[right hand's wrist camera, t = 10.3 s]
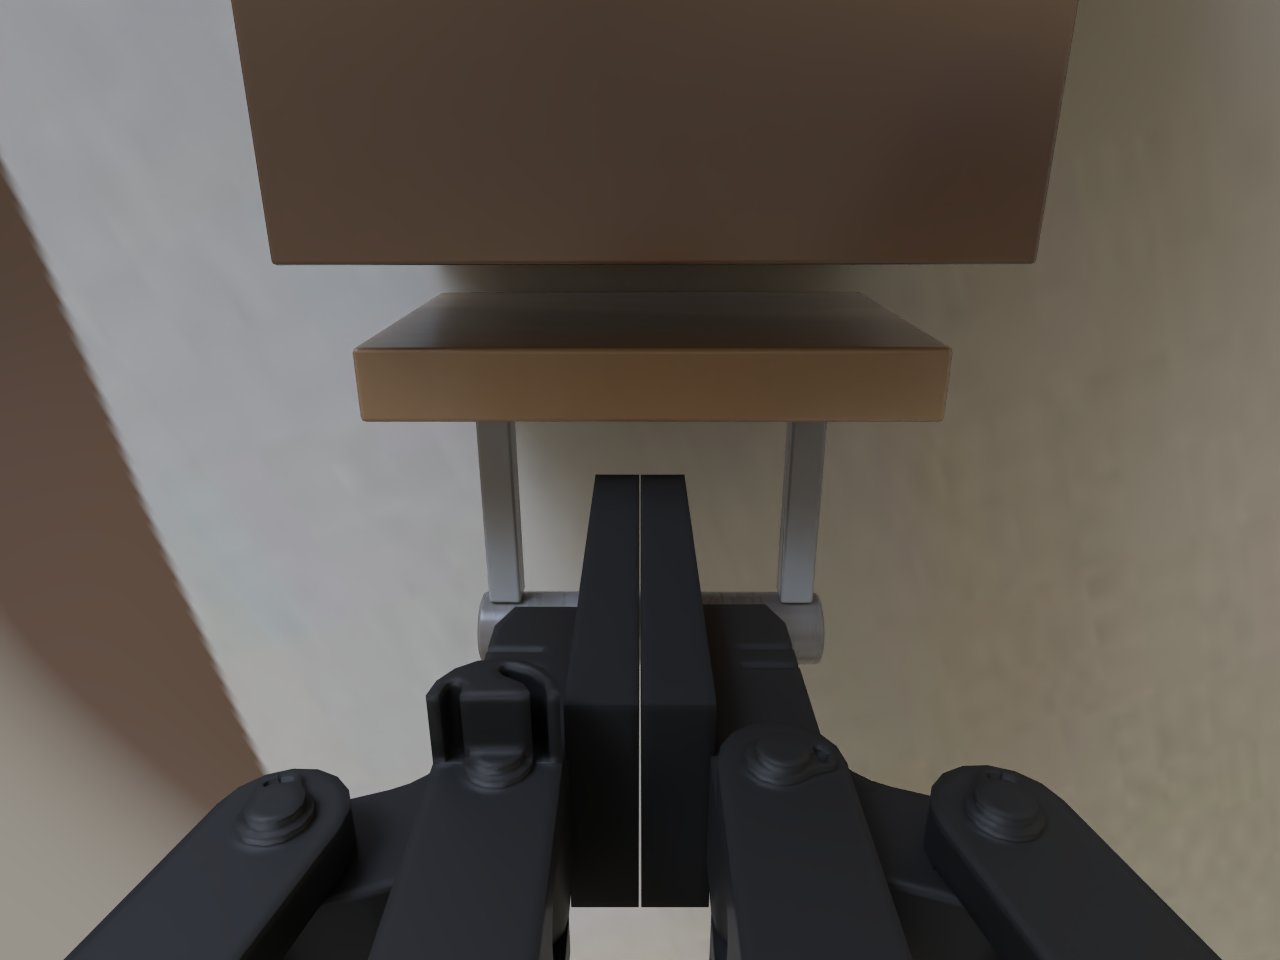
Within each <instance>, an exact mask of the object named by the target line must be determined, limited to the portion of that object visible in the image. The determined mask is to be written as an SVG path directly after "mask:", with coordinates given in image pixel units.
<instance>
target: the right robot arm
mask: <svg viewBox="0 0 1280 960" xmlns="http://www.w3.org/2000/svg"><path fill="white" fill-rule="evenodd" d="M426 702H427V711H428V720H429V729H430V738H431V747H432V756H433V766H432V769H431V772H430V773H429V774H428V775H426V776H424V777H422V778H420V779H418V780H416V781H414V782H412V783H410V784H407V785H404V786H401V787H398V788H395V789H391V790H388V791H383V792H379V793H375V794H371V795H366V796H362V797H358V798H353V799H350V795H349V790H348V789H347V787H346V786H345V785H344V784H343V783H342V782H341V780H340V779H339V778H338V777H337V776H334V775H331V774H329V773H326V772H323V771H321V770H318V769H290V770H286V771H281V772H277V773H272V774H268V775H264V776H262V777H260V778H258V779H256V780H254V781H251V782H249V783H247V784H245V785H243V786H241V787H239V788H237V789H236V790H235V791H233V792H232V793H231V794H230V795H228V796H227V797H226V798H224V799H223V800H222V801H221V802H219V803H218V804H217V805H216V806H215V807H214V808H213V809H212V810H211V811H210V812H209V813H208V814H207V815H206V816H205V817H204V818H203V819H202V820H201V821H200V822H199V823H198V824H197V825H196V826H195V827H194V828H193V829H192V830H191V831H190V832H189V833H188V834H187V835H186V836H185V837H184V838H183V839H182V840H181V841H180V842H179V843H178V844H177V845H176V846H175V847H174V848H173V849H172V850H171V851H170V852H169V853H168V854H167V855H166V857H165V858H164V859H163V860H162V861H161V862H160V863H159V864H158V865H157V866H156V867H155V868H154V869H153V870H152V871H151V872H150V873H149V874H148V875H147V876H146V877H145V878H144V879H143V880H142V881H141V882H140V883H139V884H138V885H137V886H136V887H135V888H134V889H133V890H132V891H131V892H130V893H129V894H128V895H127V896H126V897H125V898H124V899H123V900H122V901H121V902H120V903H119V904H118V905H117V906H116V907H115V908H114V909H113V910H112V911H111V912H110V913H109V914H108V915H107V916H106V917H105V918H104V919H103V920H102V921H101V922H100V923H99V924H98V925H97V927H96V928H95V929H94V930H93V931H92V932H91V933H90V934H89V935H88V936H87V937H86V938H85V939H84V940H83V941H82V942H81V943H80V944H79V945H78V946H77V947H76V948H75V949H74V950H73V951H72V952H71V953H70V954H69V955H68V956H67V957H66V958H65V959H64V960H569V959H570V936H569V908H570V897H571V907H639V475H596V476H595V483H594V490H593V497H592V505H591V512H590V519H589V526H588V533H587V540H586V547H585V554H584V562H583V569H582V576H581V583H580V590H579V597H578V604H577V607H514V608H513V609H512V610H511V611H510V612H509V613H508V614H507V615H506V616H505V617H504V618H502V619H501V620H500V621H499V622H498V623H497V624H496V625H495V626H494V629H493V633H492V636H491V639H490V642H489V646H488V652H486V655H485V658H484V660H481V661H476V662H473V663H470V664H467V665H464V666H461V667H458V668H455V669H454V670H452V671H451V672H449V673H448V674H446V675H445V676H443V677H442V678H440V679H439V680H437V681H436V682H435V684H434V685H433V686H432V688H431V689H430V691H429V692H428V693H427V695H426ZM709 893H710V903H711V936H710V960H1222V959H1221V958H1220V957H1219V956H1218V955H1217V954H1216V953H1215V952H1214V951H1213V950H1212V949H1211V948H1210V947H1209V946H1208V945H1207V944H1206V943H1205V942H1204V941H1203V940H1202V939H1201V938H1200V937H1199V936H1198V935H1197V934H1196V933H1195V932H1194V931H1193V930H1192V929H1191V928H1190V927H1189V926H1188V925H1187V924H1186V923H1185V922H1184V921H1183V920H1182V919H1181V918H1180V917H1179V916H1178V915H1177V914H1176V913H1175V912H1174V911H1173V910H1172V909H1171V908H1170V907H1169V906H1168V905H1167V904H1166V903H1165V902H1164V901H1163V900H1162V899H1161V898H1160V897H1159V896H1158V895H1157V894H1156V893H1155V892H1154V891H1153V890H1152V889H1151V888H1150V887H1149V886H1148V885H1147V884H1146V883H1145V882H1144V881H1143V880H1142V879H1141V878H1140V877H1139V876H1138V875H1137V874H1136V873H1135V872H1134V871H1133V870H1132V869H1131V868H1130V867H1129V866H1128V865H1127V864H1126V863H1125V862H1124V861H1123V860H1122V859H1121V858H1120V857H1119V856H1118V855H1117V854H1116V853H1115V852H1114V851H1113V850H1112V849H1111V848H1110V847H1109V846H1108V845H1107V844H1106V843H1105V842H1104V841H1103V840H1102V839H1101V838H1100V837H1099V836H1098V835H1097V833H1096V832H1095V831H1094V830H1093V829H1092V828H1091V827H1090V826H1089V825H1088V824H1087V823H1086V822H1085V821H1084V820H1083V819H1082V818H1081V817H1080V816H1079V815H1078V814H1077V813H1076V812H1075V811H1074V810H1073V809H1072V808H1071V807H1070V806H1069V805H1068V804H1067V803H1066V802H1065V801H1064V800H1062V799H1061V798H1060V797H1058V796H1057V795H1056V794H1055V793H1053V792H1052V791H1051V790H1049V789H1048V788H1047V787H1045V786H1044V785H1043V784H1042V783H1039V782H1037V781H1035V780H1033V779H1031V778H1028V777H1026V776H1024V775H1022V774H1020V773H1017V772H1015V771H1011V770H1006V769H1002V768H997V767H993V766H988V765H982V766H961V767H959V768H956V769H953V770H951V771H948V772H945V773H943V774H942V775H941V776H940V778H939V779H938V780H937V781H936V782H935V783H934V785H933V786H932V789H931V795H930V796H928V795H924V794H920V793H915V792H911V791H907V790H903V789H898V788H894V787H890V786H887V785H884V784H880V783H877V782H874V781H871V780H869V779H867V778H865V777H863V776H861V775H859V774H857V773H855V772H853V771H851V770H850V769H849V768H848V765H847V762H846V760H845V759H844V757H843V756H842V754H841V753H840V751H839V749H838V748H837V746H836V745H834V744H833V743H832V742H830V741H829V740H828V739H826V738H825V737H823V736H822V735H821V734H820V731H819V728H818V725H817V722H816V719H815V715H814V712H813V709H812V706H811V703H810V700H809V696H808V693H807V690H806V687H805V684H804V680H803V677H802V674H801V671H800V668H798V661H797V658H796V655H795V652H794V649H792V642H791V639H790V636H789V633H788V629H787V626H786V623H785V622H784V621H783V620H782V619H781V618H779V617H778V616H777V615H776V614H775V613H774V612H773V611H772V610H771V609H770V608H769V607H768V606H766V605H765V604H702V597H701V590H700V583H699V576H698V569H697V562H696V554H695V547H694V540H693V533H692V526H691V519H690V512H689V505H688V498H687V490H686V483H685V476H684V475H641V907H709Z"/></svg>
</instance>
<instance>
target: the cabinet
mask: <svg viewBox="0 0 1280 960" xmlns="http://www.w3.org/2000/svg"><path fill="white" fill-rule="evenodd" d="M231 2H232V9H233V15H234V22H235V28H236V34H237V41H238V47H239V54H240V60H241V67H242V73H243V79H244V86H245V92H246V99H247V105H248V112H249V118H250V124H251V131H252V137H253V144H254V150H255V156H256V163H257V169H258V176H259V182H260V189H261V195H262V201H263V208H264V214H265V221H266V227H267V234H268V240H269V246H270V253H271V259H272V262H273V264H276V265H679V264H1032V263H1034V262H1035V261H1036V257H1037V250H1038V244H1039V238H1040V232H1041V226H1042V220H1043V214H1044V207H1045V201H1046V195H1047V189H1048V183H1049V177H1050V171H1051V165H1052V158H1053V152H1054V146H1055V140H1056V134H1057V128H1058V122H1059V115H1060V109H1061V103H1062V97H1063V91H1064V85H1065V79H1066V73H1067V66H1068V60H1069V54H1070V48H1071V42H1072V36H1073V30H1074V23H1075V17H1076V11H1077V5H1078V0H231Z"/></svg>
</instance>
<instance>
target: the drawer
mask: <svg viewBox="0 0 1280 960" xmlns="http://www.w3.org/2000/svg"><path fill="white" fill-rule="evenodd" d="M353 358H354V366H355V374H356V382H357V390H358V398H359V406H360V414H361V418H362V420H363V421H366V422H476V428H477V441H478V454H479V467H480V481H481V494H482V507H483V520H484V534H485V547H486V560H487V573H488V587H489V592H486V593H485V594H484V595H483V598H482V600H481V604H480V609H479V616H478V648H479V654H480V657H481V660H484V658H485V655H486V652H488V646H489V642H490V639H491V636H492V633H493V629H494V626H495V625H496V624H497V623H498V622H499V621H500V620H501V619H502V618H504V617H505V616H506V615H507V614H508V613H509V612H510V611H511V610H512V609H513V608H514V607H577V604H578V597H579V592H525V591H524V587H525V586H524V568H523V551H522V534H521V517H520V500H519V482H518V465H517V448H516V431H515V422H787V434H786V450H785V466H784V481H783V497H782V513H781V528H780V544H779V560H778V576H777V590H778V592H701V597H702V604H765V605H766V606H768V607H769V608H770V609H771V610H772V611H773V612H774V613H775V614H776V615H777V616H778V617H779V618H781V619H782V620H783V621H784V622H785V623H786V626H787V629H788V633H789V636H790V639H791V642H792V649H794V652H795V655H796V658H797V661H798V664H817V663H819V662H820V660H821V657H822V653H823V647H824V618H823V611H822V605H821V602H820V599H819V597H818V595H817V594H816V593H814V592H813V586H814V574H815V562H816V549H817V537H818V525H819V512H820V500H821V488H822V475H823V463H824V451H825V439H826V426H827V422H939V421H942V420H943V418H944V412H945V404H946V397H947V389H948V382H949V374H950V367H951V359H952V350H951V348H949V347H948V346H946V345H944V344H943V343H941V342H940V341H938V340H936V339H935V338H933V337H931V336H930V335H928V334H926V333H925V332H923V331H922V330H920V329H918V328H917V327H915V326H913V325H912V324H910V323H908V322H907V321H905V320H904V319H902V318H900V317H899V316H897V315H895V314H894V313H892V312H891V311H889V310H887V309H886V308H884V307H882V306H881V305H879V304H877V303H876V302H874V301H873V300H871V299H869V298H868V297H866V296H864V295H863V294H861V293H859V292H729V293H441V294H439V295H438V296H436V297H435V298H433V299H432V300H430V301H428V302H427V303H425V304H424V305H422V306H421V307H419V308H417V309H416V310H414V311H413V312H411V313H410V314H408V315H406V316H405V317H403V318H402V319H400V320H399V321H397V322H395V323H394V324H392V325H391V326H389V327H388V328H386V329H384V330H383V331H381V332H380V333H378V334H377V335H375V336H374V337H372V338H370V339H369V340H367V341H366V342H364V343H363V344H361V345H359V346H358V347H356V348H355V349H354V350H353ZM639 664H641V592H639Z"/></svg>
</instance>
